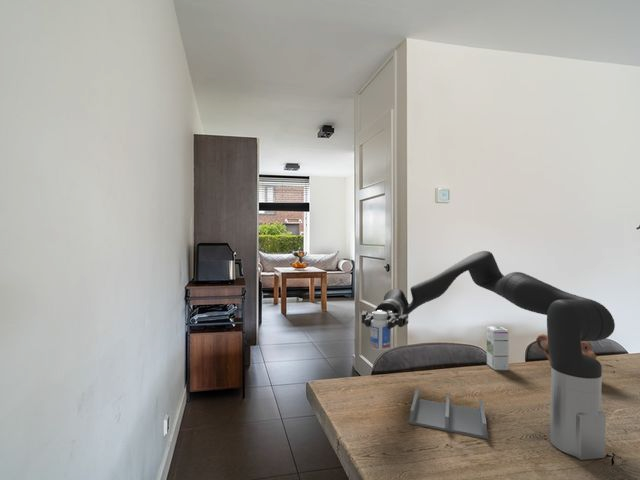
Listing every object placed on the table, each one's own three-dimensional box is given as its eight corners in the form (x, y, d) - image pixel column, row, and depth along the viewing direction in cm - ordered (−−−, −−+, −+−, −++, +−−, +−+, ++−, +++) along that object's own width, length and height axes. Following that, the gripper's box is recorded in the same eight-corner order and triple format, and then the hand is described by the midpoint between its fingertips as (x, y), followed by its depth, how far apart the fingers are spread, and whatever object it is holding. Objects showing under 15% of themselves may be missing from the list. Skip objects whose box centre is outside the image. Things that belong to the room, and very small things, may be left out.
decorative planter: (525, 366, 130) (525, 329, 130) (544, 361, 136) (544, 325, 136) (586, 387, 112) (587, 343, 112) (605, 380, 118) (606, 338, 118)
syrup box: (509, 370, 126) (509, 330, 126) (492, 370, 126) (493, 329, 126) (501, 364, 132) (502, 326, 132) (485, 364, 132) (486, 325, 132)
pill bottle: (389, 345, 100) (389, 310, 100) (391, 351, 94) (391, 314, 94) (369, 344, 100) (370, 310, 100) (370, 350, 95) (370, 314, 95)
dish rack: (414, 400, 102) (414, 387, 102) (483, 412, 95) (484, 399, 95) (408, 423, 89) (408, 409, 89) (488, 439, 82) (488, 424, 82)
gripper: (412, 326, 108) (404, 341, 92) (366, 321, 113) (352, 335, 97) (412, 302, 108) (405, 312, 92) (367, 298, 113) (352, 308, 97)
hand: (378, 324), depth 95 cm, fingers closed on pill bottle, 5 cm apart
